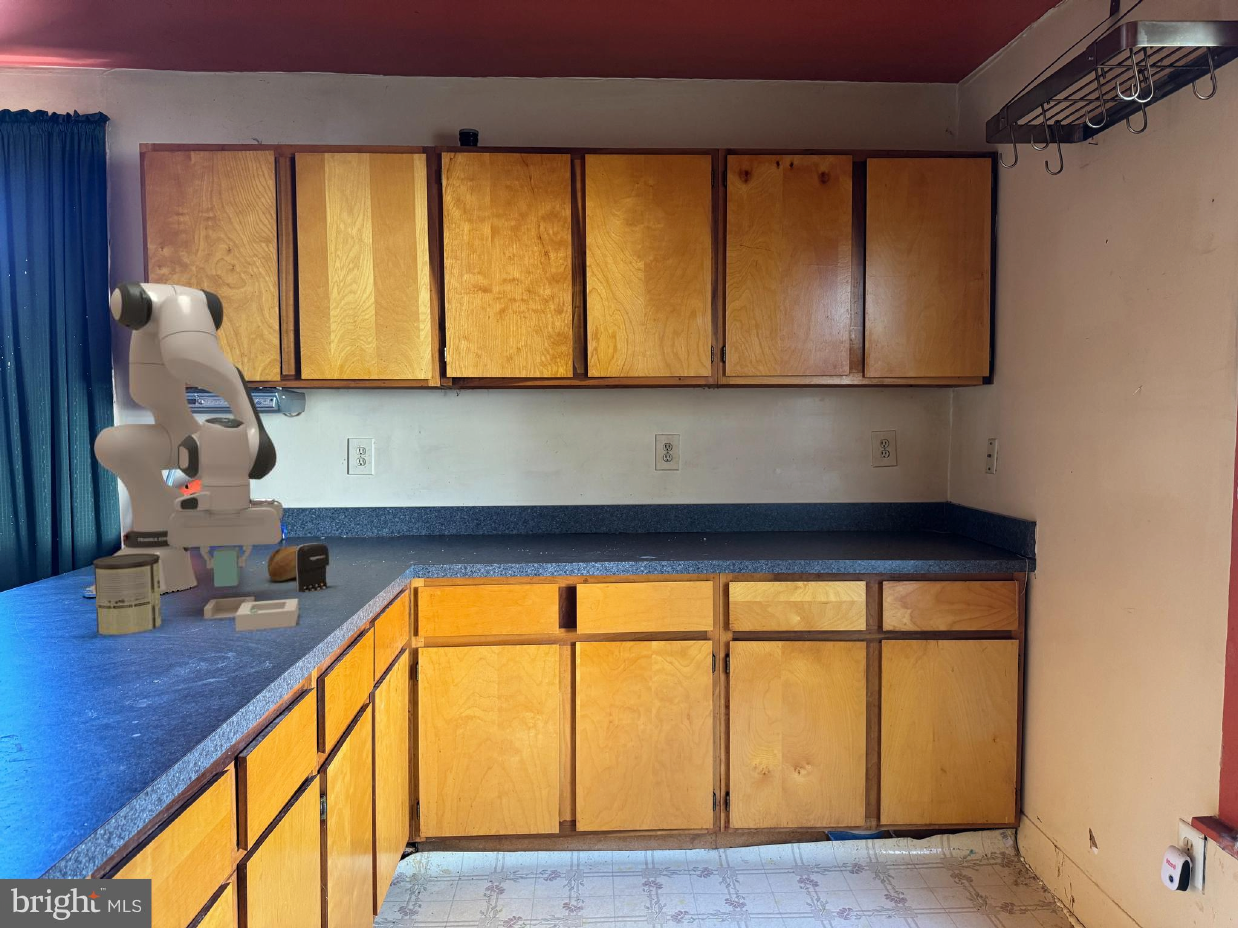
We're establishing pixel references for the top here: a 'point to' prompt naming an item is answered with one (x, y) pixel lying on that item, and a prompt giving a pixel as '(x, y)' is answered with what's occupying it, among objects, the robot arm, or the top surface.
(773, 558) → the top surface
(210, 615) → the holster
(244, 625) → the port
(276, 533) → the robot arm
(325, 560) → the battery
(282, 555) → the bread roll
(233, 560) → the plug
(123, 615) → the coffee can
